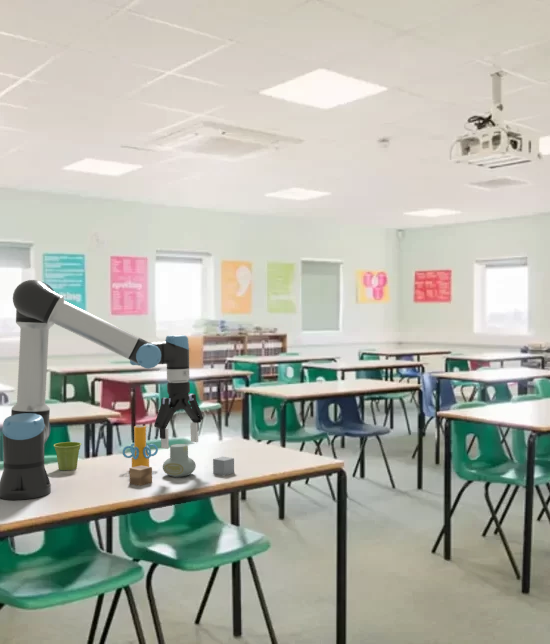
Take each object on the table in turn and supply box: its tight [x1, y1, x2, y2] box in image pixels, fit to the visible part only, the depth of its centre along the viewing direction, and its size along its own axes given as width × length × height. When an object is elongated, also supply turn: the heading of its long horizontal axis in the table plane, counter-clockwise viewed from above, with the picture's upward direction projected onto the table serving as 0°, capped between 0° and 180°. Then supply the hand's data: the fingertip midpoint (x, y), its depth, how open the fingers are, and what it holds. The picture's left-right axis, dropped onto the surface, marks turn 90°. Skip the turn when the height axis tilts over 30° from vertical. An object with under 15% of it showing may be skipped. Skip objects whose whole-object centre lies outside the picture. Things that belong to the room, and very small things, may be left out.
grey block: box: [212, 456, 235, 476], centre depth 237 cm, size 5×5×5 cm
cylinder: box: [122, 425, 159, 468], centre depth 244 cm, size 12×10×15 cm
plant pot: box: [53, 441, 82, 471], centre depth 246 cm, size 9×9×9 cm
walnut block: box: [128, 465, 153, 487], centre depth 224 cm, size 5×5×5 cm
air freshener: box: [162, 443, 197, 478], centre depth 235 cm, size 11×8×10 cm
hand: (180, 445), depth 235 cm, fingers open, 13 cm apart
